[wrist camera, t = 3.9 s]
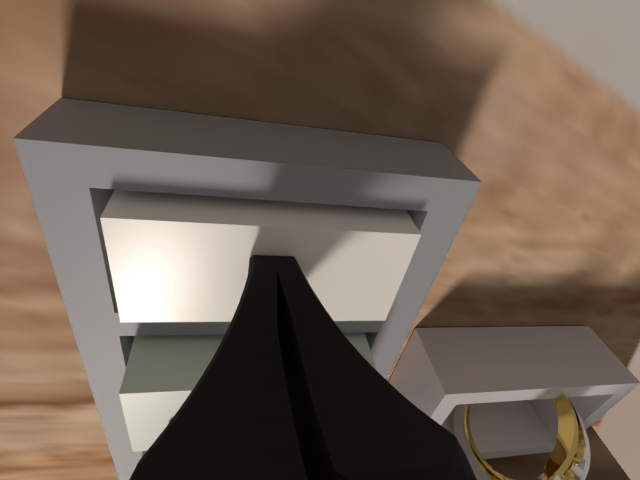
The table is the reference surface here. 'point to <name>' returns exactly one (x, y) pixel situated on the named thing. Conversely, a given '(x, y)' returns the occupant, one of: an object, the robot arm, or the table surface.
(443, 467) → the robot arm
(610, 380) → the bracelet dish
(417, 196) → the button board
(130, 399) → the tile three sage
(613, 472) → the box
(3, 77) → the table surface
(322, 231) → the tile one cream
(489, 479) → the ring
